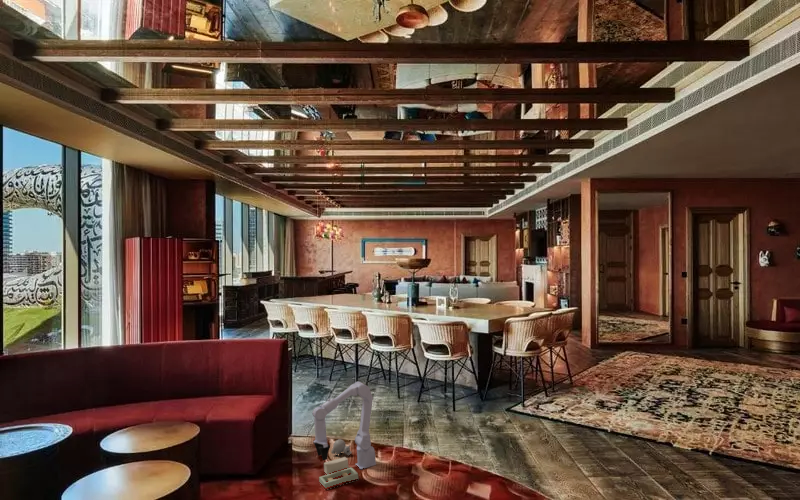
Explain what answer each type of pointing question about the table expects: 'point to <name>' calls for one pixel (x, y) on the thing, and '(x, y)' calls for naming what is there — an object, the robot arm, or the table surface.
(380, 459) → the table surface
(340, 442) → the chubby cartoon animal
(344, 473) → the rack
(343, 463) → the beige rectangular block
